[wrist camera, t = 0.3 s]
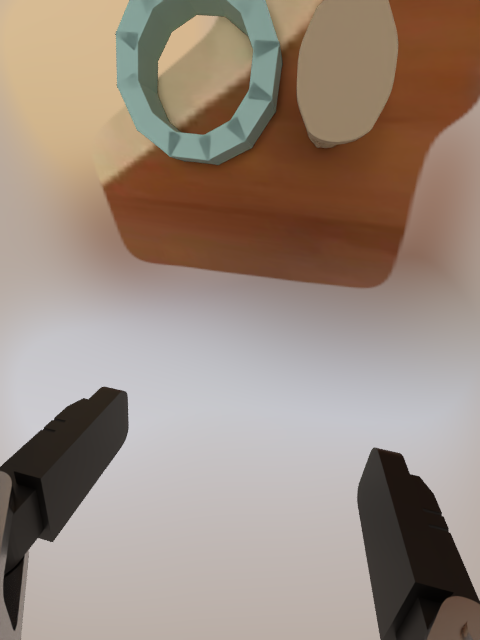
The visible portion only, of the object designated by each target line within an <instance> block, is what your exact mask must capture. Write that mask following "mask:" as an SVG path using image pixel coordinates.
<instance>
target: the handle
mask: <svg viewBox="0 0 480 640" xmlns="http://www.w3.org/2000/svg"><path fill="white" fill-rule="evenodd" d="M397 55H398V37H397V30H396V26H395V22H394V18H393V15H392V11H391V8H390V4H389V1H388V0H324V1H323V2H322V3H321V4H319V5H318V6H317V8H316V10H315V13H314V15H313V17H312V19H311V22H310V24H309V26H308V29H307V31H306V33H305V36H304V38H303V41H302V44H301V48H300V51H299V58H298V71H297V102H298V106H299V110H300V113H301V116H302V119H303V122H304V124H305V127H306V130H307V133H308V136H309V138H310V140H311V141H312V142H313V143H314V144H315V146H316V147H317V148H320V147H322V148H329V147H330V148H332V147H334V146H335V145H337V144H346V143H349V142H353V141H355V140H357V139H359V138H361V137H363V136H364V135H365V134H367V133H368V132H369V131H370V130H371V129H372V127H373V125H374V124H375V122H376V120H377V119H378V117H379V115H380V113H381V111H382V110H383V108H384V106H385V104H386V102H387V100H388V98H389V95H390V93H391V90H392V86H393V82H394V76H395V69H396V62H397Z"/></svg>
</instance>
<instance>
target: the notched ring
mask: <svg viewBox="0 0 480 640" xmlns="http://www.w3.org/2000/svg"><path fill="white" fill-rule="evenodd" d="M196 15H209V16H225V17H227V18H228V19H229V20H230V21H231V22H232V23H233V24H235V25H236V26H237V27H238V28H239V29H240V30H242V31H243V32H244V33H245V34H246V35H247V36H248V37H249V39H250V42H251V45H252V48H253V59H252V68H251V77H250V87H249V91H248V92H247V94H246V96H245V97H244V99H243V101H242V102H241V104H240V106H239V107H238V109H237V111H236V112H235V114H234V116H233V117H232V119H231V120H230V121H228V122H227V123H225V124H223V125H221V126H219V127H218V128H216V129H214V130H212V131H210V132H209V133H207V134H205V135H199V134H190V133H181V132H180V131H179V130H178V129H177V128H175V127H174V126H173V125H172V124H170V123H169V121H168V118H167V116H166V114H165V111H164V109H163V107H162V104H161V102H160V100H159V97H158V95H157V84H158V60H159V58H160V56H161V54H162V52H163V50H164V48H165V45H166V43H167V41H168V39H169V37H170V35H171V33H172V32H173V31H174V30H176V29H177V28H178V27H180V26H181V25H183V24H184V23H186V22H187V21H188V20H190V19H191V18H193V17H194V16H196ZM115 35H116V52H117V53H116V58H117V88H118V89H119V91H120V93H121V95H122V98H123V100H124V102H125V104H126V107H127V109H128V111H129V113H130V115H131V118H132V120H133V122H134V124H135V126H136V129H137V131H139V132H141V133H142V134H143V135H144V136H146V137H147V138H148V139H149V140H150V141H152V142H153V143H154V144H155V145H157V146H158V147H159V148H160V149H162V150H163V151H164V152H165V153H166V154H168V156H170V157H173V158H176V159H179V160H182V161H190V162H199V163H207V164H216V165H220V164H221V163H223V162H225V161H227V160H229V159H231V158H233V157H235V156H237V155H239V154H241V153H243V152H245V151H247V150H249V149H251V148H252V147H253V145H254V144H255V142H256V141H257V139H258V138H259V136H260V135H261V133H262V132H263V130H264V129H265V127H266V126H267V124H268V122H269V121H270V119H271V118H272V116H273V115H274V113H276V105H277V98H278V90H279V83H280V76H281V68H282V65H283V64H282V56H281V49H280V43H279V41H278V39H277V36H276V32H275V29H274V26H273V23H272V20H271V17H270V14H269V10H268V7H267V4H266V1H265V0H129V3H128V5H127V8H126V10H125V12H124V15H123V17H122V20H121V22H120V25H119V27H118V29H117V31H116V34H115Z"/></svg>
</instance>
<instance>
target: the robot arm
mask: <svg viewBox="0 0 480 640" xmlns="http://www.w3.org/2000/svg"><path fill="white" fill-rule="evenodd" d="M127 433H128V397H127V393H126V392H125V391H122V390H117V389H113V388H108V387H102V388H100V389H99V390H98V391H97V392H96V393H95V394H94V395H93V396H92V397H91V398H89V399H84V398H83V399H81V400H79V401H77V402H75V403H73V404H72V405H70V406H67V407H66V408H65V409H64V410H63V411H62V412H61V413H60V414H58V415H57V416H56V417H55V418H54V420H52V421H51V422H49V423H48V424H47V425H46V426H45V427H44V429H43V430H41V431H40V432H38V434H36V435H35V436H34V437H33V438H32V439H31V440H29V442H27V443H26V444H25V445H24V446H23V447H22V448H21V449H20V450H18V451H17V452H16V453H15V454H14V455H13V456H12V457H11V458H9V459H8V460H7V461H6V462H5V463H4V464H3V465H2V466H1V467H0V640H21V630H22V620H23V619H22V618H23V610H24V598H25V589H26V579H27V568H28V558H29V552H28V550H29V549H30V547H31V545H32V544H33V543H34V542H35V541H36V539H37V538H41V539H44V540H47V541H50V542H53V541H54V540H55V538H56V537H57V535H58V534H59V533H60V531H61V530H62V529H63V527H64V526H65V524H66V523H67V522H68V520H69V519H70V517H71V516H72V515H73V513H74V512H75V511H76V509H77V508H78V506H79V505H80V504H81V502H82V501H83V499H84V498H85V497H86V495H87V494H88V493H89V491H90V490H91V488H92V487H93V485H94V484H95V483H96V481H97V480H98V478H99V477H100V476H101V474H102V473H103V471H104V470H105V469H106V467H107V466H108V465H109V463H110V462H111V461H112V459H113V458H114V457H115V455H116V454H117V452H118V451H119V450H120V448H121V447H122V445H123V443H124V441H125V439H126V436H127ZM357 501H358V509H359V515H360V521H361V527H362V532H363V539H364V545H365V551H366V556H367V562H368V568H369V574H370V580H371V586H372V592H373V598H374V604H375V609H376V615H377V621H378V627H379V633H380V639H381V640H480V601H479V599H478V596H477V594H476V592H475V590H474V587H473V585H472V582H471V581H470V578H469V576H468V573H467V571H466V568H465V566H464V564H463V561H462V559H461V557H460V554H459V552H458V550H457V548H456V545H455V543H454V540H453V538H452V536H451V534H450V533H449V532H448V526H447V524H446V522H445V519H444V517H443V516H442V515H441V514H442V512H441V510H440V508H439V506H438V503H437V501H436V498H435V496H434V494H433V493H432V491H431V490H430V489H429V488H428V486H427V485H426V484H425V483H424V482H423V480H422V479H421V478H420V477H419V476H415V475H410V473H409V471H408V468H407V465H406V463H405V460H404V458H403V456H402V454H400V453H396V452H392V451H388V450H383V449H379V448H373V449H372V450H371V453H370V455H369V458H368V461H367V463H366V466H365V469H364V471H363V474H362V477H361V480H360V483H359V486H358V496H357Z"/></svg>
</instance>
